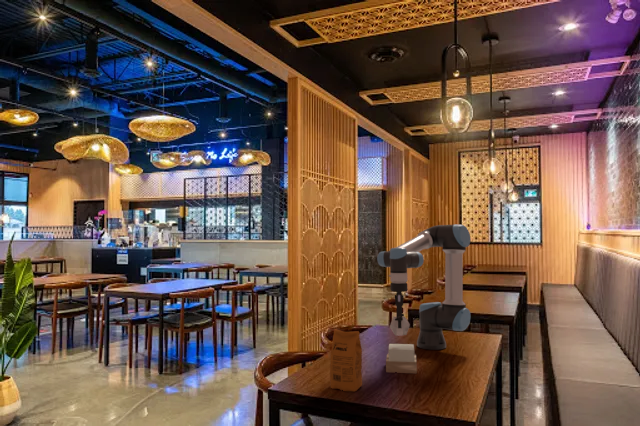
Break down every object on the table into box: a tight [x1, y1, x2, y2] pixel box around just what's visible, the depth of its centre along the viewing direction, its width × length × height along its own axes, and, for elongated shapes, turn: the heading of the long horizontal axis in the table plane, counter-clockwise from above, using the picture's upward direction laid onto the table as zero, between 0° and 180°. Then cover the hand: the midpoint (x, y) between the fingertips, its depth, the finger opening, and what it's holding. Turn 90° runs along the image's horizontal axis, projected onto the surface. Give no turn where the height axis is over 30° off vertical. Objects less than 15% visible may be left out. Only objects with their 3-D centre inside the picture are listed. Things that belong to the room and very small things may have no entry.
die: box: [389, 315, 411, 336], centre depth 199 cm, size 8×9×10 cm
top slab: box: [388, 343, 415, 362], centre depth 198 cm, size 11×11×5 cm
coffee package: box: [329, 328, 363, 392], centre depth 175 cm, size 10×12×22 cm
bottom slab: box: [385, 353, 418, 374], centre depth 199 cm, size 13×13×5 cm
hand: (399, 333), depth 199 cm, fingers closed on die, 9 cm apart
